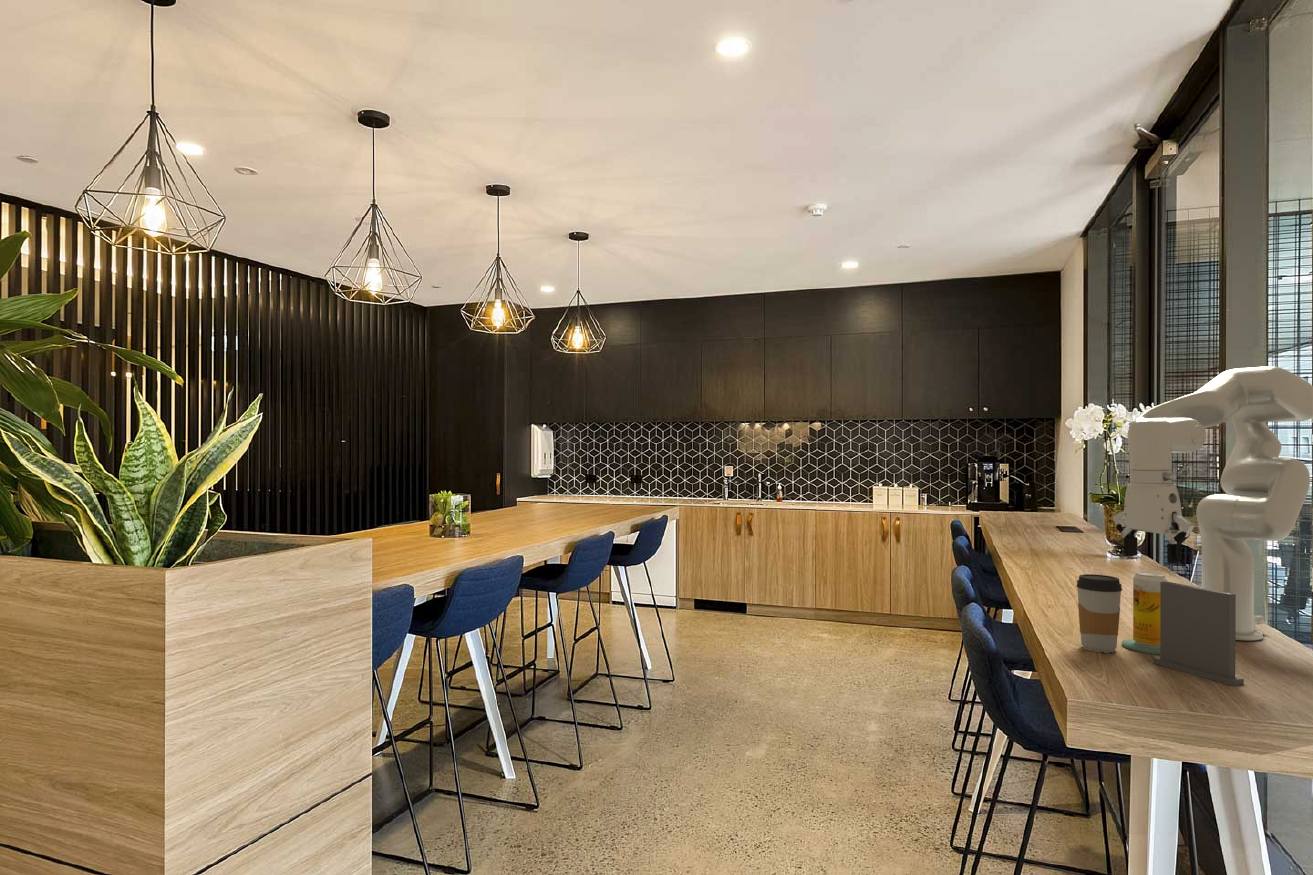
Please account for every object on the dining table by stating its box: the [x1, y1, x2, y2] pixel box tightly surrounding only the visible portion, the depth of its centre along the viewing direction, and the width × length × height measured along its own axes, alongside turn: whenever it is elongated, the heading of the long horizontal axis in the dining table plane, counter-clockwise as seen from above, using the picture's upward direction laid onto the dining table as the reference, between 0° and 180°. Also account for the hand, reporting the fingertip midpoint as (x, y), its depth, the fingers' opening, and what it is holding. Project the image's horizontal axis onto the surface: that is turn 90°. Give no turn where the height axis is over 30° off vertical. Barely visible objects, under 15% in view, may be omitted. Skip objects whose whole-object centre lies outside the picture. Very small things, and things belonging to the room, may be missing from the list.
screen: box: [1152, 581, 1245, 687], centre depth 144 cm, size 3×15×16 cm, turn 19°
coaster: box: [1121, 638, 1160, 656], centre depth 161 cm, size 10×10×1 cm
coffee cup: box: [1076, 573, 1123, 654], centre depth 161 cm, size 8×8×15 cm
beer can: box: [1132, 571, 1169, 648], centre depth 161 cm, size 6×6×15 cm
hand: (1152, 559), depth 162 cm, fingers open, 9 cm apart
